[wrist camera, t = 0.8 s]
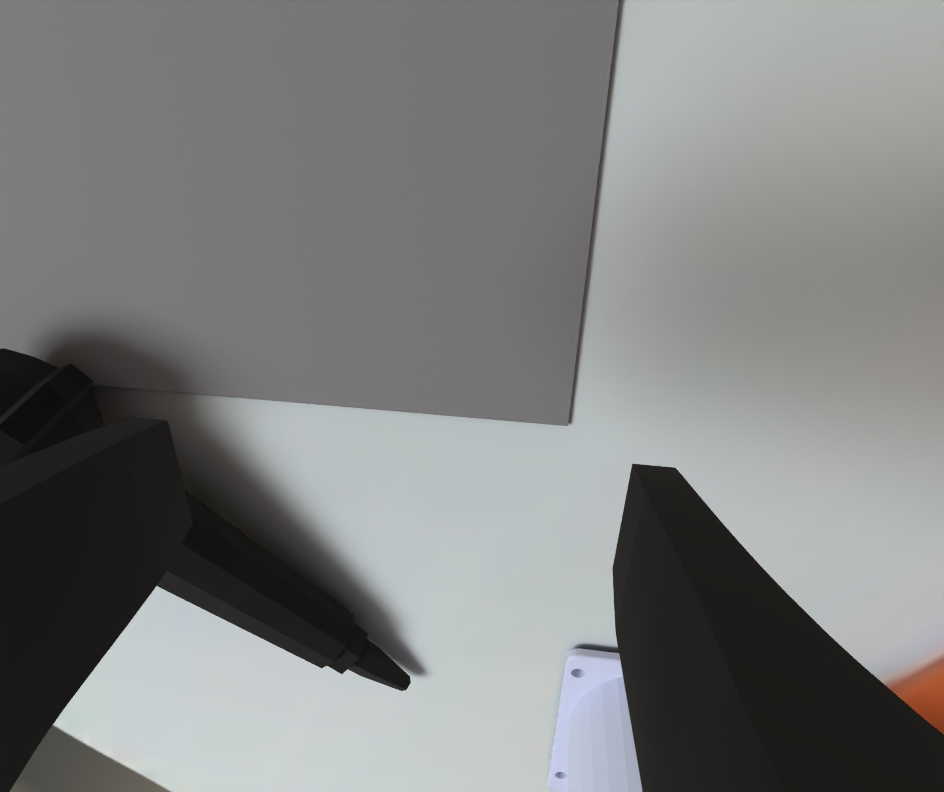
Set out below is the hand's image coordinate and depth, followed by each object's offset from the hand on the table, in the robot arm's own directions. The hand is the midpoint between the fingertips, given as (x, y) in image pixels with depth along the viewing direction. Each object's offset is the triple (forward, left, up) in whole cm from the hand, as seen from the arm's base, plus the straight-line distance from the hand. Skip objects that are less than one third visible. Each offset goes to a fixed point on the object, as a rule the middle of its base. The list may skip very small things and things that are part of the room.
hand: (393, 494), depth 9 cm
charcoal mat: (+3, +10, -9) cm, 14 cm away
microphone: (-10, +10, -10) cm, 17 cm away
